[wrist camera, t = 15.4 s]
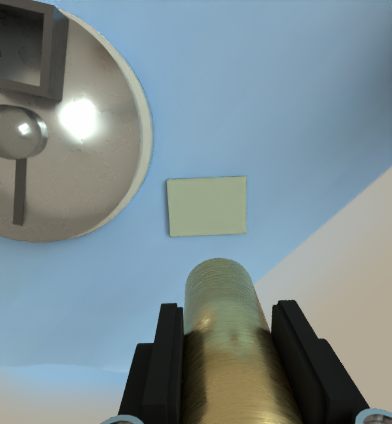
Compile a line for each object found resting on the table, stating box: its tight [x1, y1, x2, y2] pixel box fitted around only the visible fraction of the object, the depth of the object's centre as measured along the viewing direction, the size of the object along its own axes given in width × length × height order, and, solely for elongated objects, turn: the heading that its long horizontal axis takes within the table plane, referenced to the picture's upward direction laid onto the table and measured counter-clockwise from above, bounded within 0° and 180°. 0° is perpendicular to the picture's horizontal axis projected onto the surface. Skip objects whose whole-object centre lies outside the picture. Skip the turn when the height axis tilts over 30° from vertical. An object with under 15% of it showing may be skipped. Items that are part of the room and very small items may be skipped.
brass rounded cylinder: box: [180, 258, 304, 424], centre depth 10 cm, size 3×3×9 cm
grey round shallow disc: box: [0, 0, 143, 242], centre depth 23 cm, size 19×19×4 cm
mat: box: [167, 176, 246, 237], centre depth 30 cm, size 8×6×1 cm
